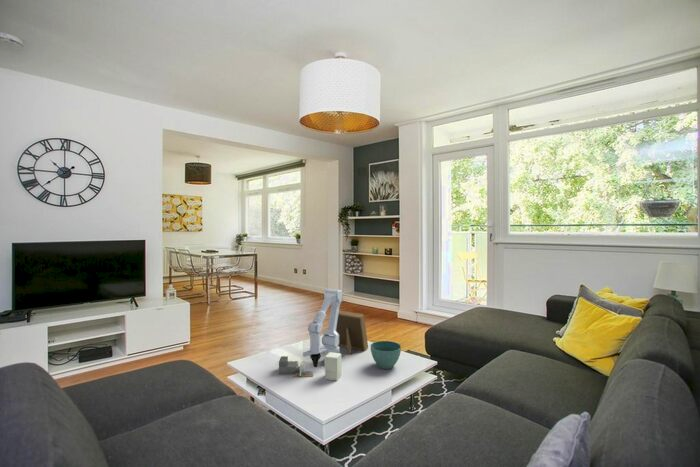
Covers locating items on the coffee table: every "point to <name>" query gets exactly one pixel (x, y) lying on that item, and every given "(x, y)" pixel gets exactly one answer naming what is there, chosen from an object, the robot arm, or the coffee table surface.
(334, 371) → the supplement box
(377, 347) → the teal rounded bowl
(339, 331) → the photo frame
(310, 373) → the gauge scale
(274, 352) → the coffee table surface
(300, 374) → the gauge plunger
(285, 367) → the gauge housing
